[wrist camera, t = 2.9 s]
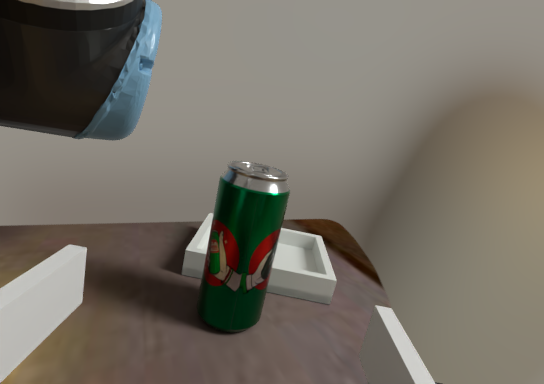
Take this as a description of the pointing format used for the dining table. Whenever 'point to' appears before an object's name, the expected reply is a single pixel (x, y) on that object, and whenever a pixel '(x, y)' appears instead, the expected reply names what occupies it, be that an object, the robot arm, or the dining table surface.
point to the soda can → (242, 245)
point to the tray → (279, 264)
